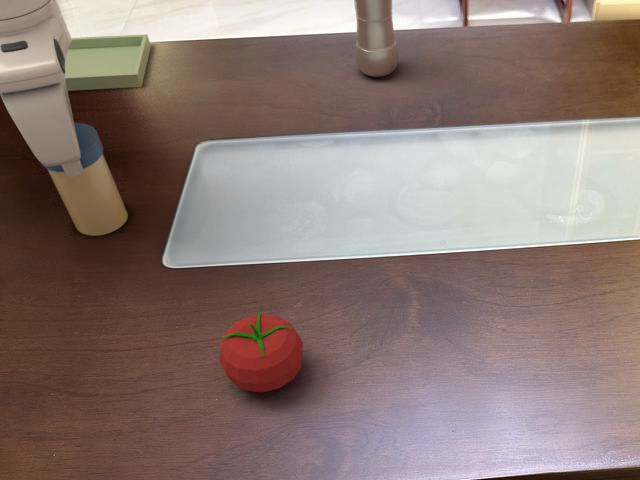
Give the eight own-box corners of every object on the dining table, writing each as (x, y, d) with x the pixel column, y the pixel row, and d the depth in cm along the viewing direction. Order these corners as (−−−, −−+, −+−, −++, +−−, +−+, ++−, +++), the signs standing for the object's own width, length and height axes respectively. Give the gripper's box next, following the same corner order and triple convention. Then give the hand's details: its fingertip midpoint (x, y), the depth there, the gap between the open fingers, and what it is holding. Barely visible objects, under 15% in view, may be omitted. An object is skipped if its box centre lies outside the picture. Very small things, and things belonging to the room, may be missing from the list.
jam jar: (70, 237, 85) (32, 161, 77) (79, 205, 88) (43, 129, 80) (124, 233, 85) (91, 157, 77) (130, 201, 89) (100, 126, 81)
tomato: (233, 346, 75) (216, 294, 69) (309, 342, 75) (298, 290, 69) (224, 409, 70) (204, 359, 64) (306, 404, 70) (294, 354, 64)
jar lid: (33, 174, 77) (26, 159, 76) (46, 139, 82) (39, 125, 80) (98, 169, 78) (92, 154, 77) (107, 135, 82) (101, 120, 81)
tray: (39, 92, 105) (33, 79, 103) (56, 51, 112) (50, 38, 111) (141, 86, 106) (137, 74, 105) (151, 46, 114) (147, 34, 113)
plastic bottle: (405, 64, 113) (399, -76, 98) (390, 85, 109) (382, -57, 93) (366, 57, 114) (355, -82, 99) (350, 78, 110) (336, -64, 94)
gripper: (-24, -9, 74) (34, 111, 85) (-17, 88, 63) (49, 214, 73) (42, -19, 76) (91, 100, 87) (61, 74, 64) (114, 198, 75)
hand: (72, 153), depth 80 cm, fingers closed on jar lid, 6 cm apart
